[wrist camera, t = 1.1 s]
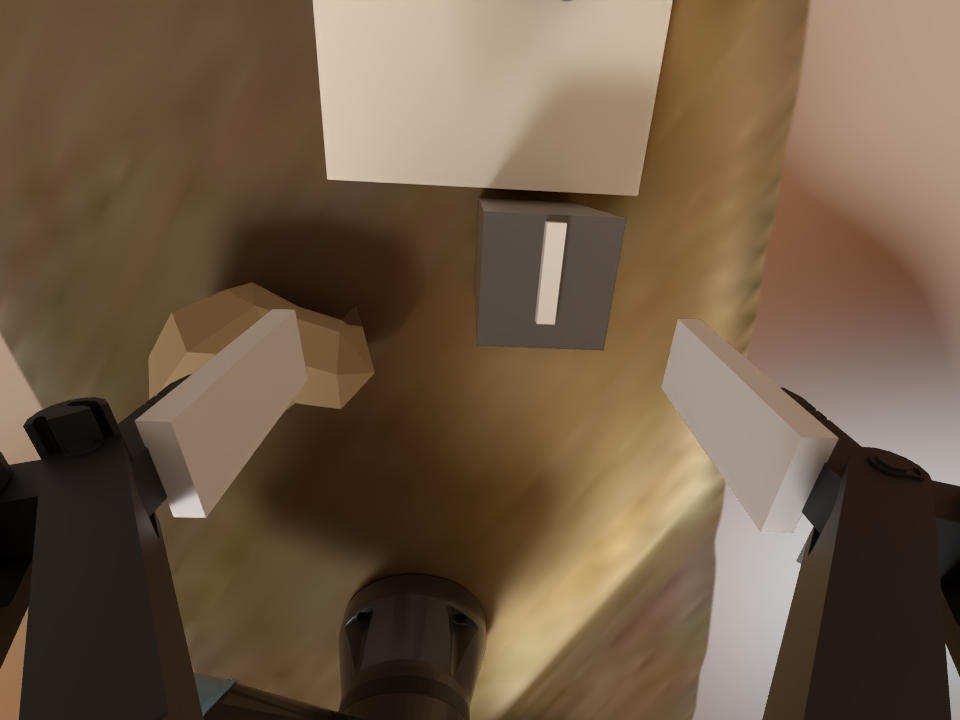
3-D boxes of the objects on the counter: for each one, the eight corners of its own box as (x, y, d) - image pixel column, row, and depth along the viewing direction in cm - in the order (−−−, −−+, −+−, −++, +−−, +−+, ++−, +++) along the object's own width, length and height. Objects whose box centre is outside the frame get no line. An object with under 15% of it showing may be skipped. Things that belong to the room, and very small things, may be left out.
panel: (627, 194, 30) (669, 200, 24) (336, 179, 30) (299, 181, 23) (680, -116, 24) (757, -219, 18) (312, -146, 23) (252, -266, 17)
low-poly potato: (188, 382, 36) (268, 495, 34) (48, 362, 25) (152, 526, 23) (331, 265, 36) (417, 370, 34) (254, 196, 26) (373, 343, 24)
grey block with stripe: (561, 294, 33) (606, 354, 22) (474, 291, 33) (477, 349, 22) (573, 202, 31) (630, 219, 20) (478, 197, 30) (484, 212, 20)
